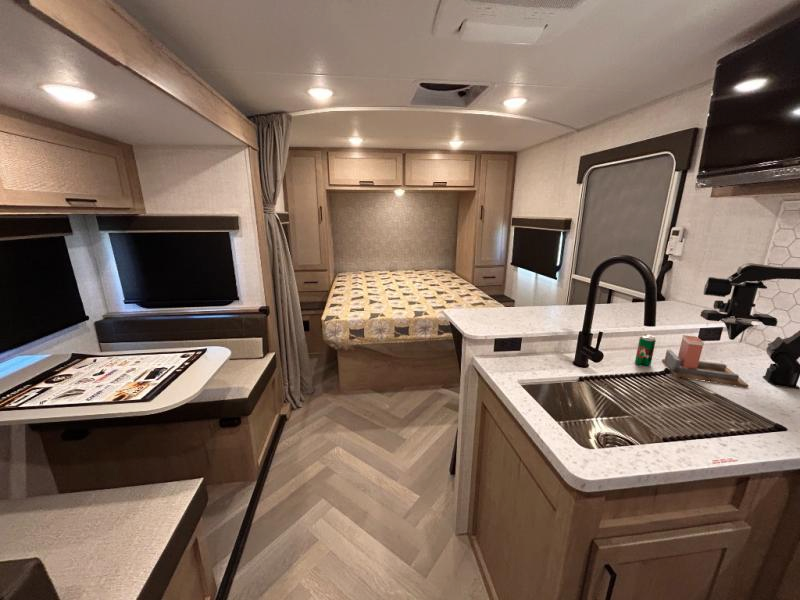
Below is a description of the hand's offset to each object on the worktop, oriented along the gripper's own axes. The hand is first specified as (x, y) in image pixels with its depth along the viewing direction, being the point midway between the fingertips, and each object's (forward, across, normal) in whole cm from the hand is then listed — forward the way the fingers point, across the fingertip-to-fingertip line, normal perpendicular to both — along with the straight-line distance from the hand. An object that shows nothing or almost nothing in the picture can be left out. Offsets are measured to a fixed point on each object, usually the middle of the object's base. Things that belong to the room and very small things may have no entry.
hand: (731, 339), depth 116 cm
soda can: (+13, +26, +4) cm, 29 cm away
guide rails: (+12, +9, +5) cm, 16 cm away
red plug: (+12, +13, +5) cm, 18 cm away
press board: (+13, +8, +5) cm, 16 cm away
